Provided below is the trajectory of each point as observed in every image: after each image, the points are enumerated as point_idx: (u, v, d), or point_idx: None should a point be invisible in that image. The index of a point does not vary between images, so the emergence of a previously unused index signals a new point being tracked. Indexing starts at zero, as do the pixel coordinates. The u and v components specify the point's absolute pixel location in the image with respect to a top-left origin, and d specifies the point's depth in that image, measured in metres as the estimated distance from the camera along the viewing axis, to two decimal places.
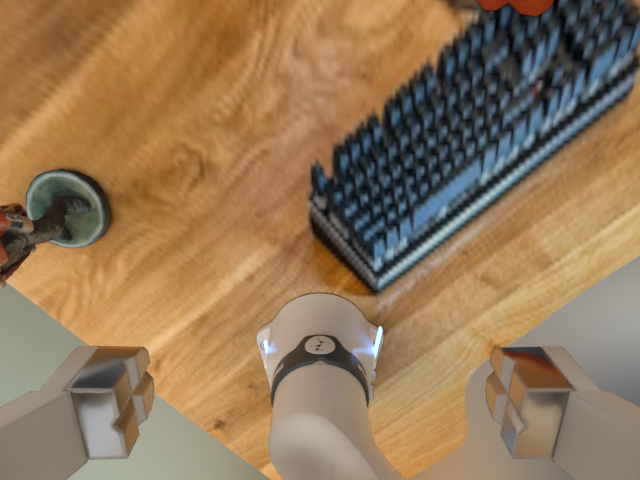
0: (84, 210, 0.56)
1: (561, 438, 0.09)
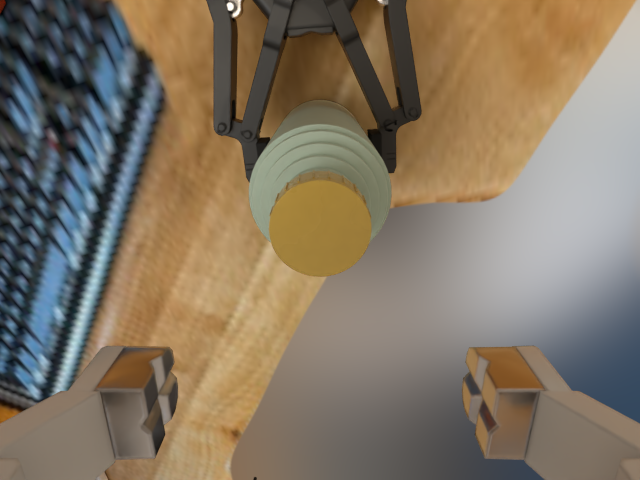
0: None
1: (532, 438, 0.09)
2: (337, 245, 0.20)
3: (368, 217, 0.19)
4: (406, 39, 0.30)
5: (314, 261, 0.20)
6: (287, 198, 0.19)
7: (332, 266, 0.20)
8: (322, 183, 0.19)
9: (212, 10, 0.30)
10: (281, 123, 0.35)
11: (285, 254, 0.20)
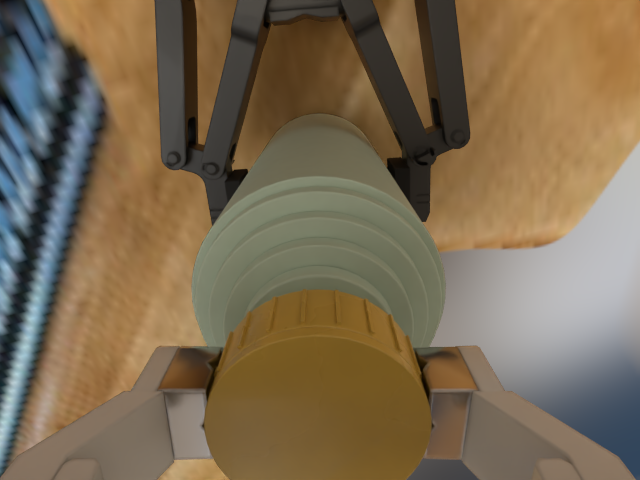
0: None
1: (468, 438, 0.09)
2: (355, 459, 0.09)
3: (426, 408, 0.09)
4: (451, 27, 0.20)
5: None
6: (242, 371, 0.08)
7: None
8: (323, 341, 0.08)
9: None
10: None
11: (243, 475, 0.09)
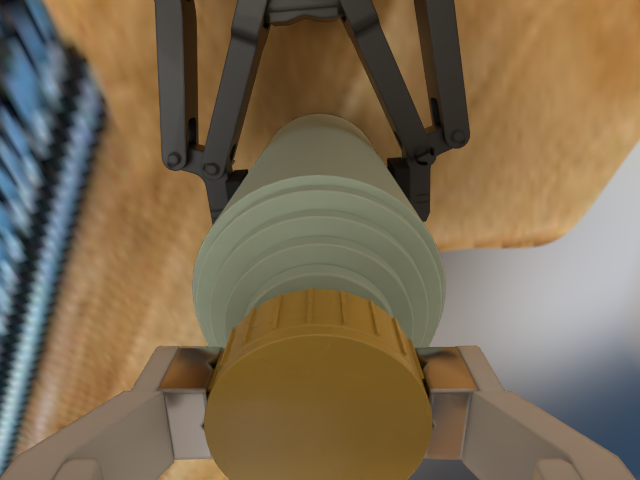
0: None
1: (468, 438, 0.09)
2: (359, 404, 0.08)
3: (299, 340, 0.08)
4: (450, 27, 0.20)
5: (389, 450, 0.09)
6: (239, 477, 0.09)
7: (410, 419, 0.09)
8: (211, 416, 0.09)
9: None
10: (264, 149, 0.25)
11: None
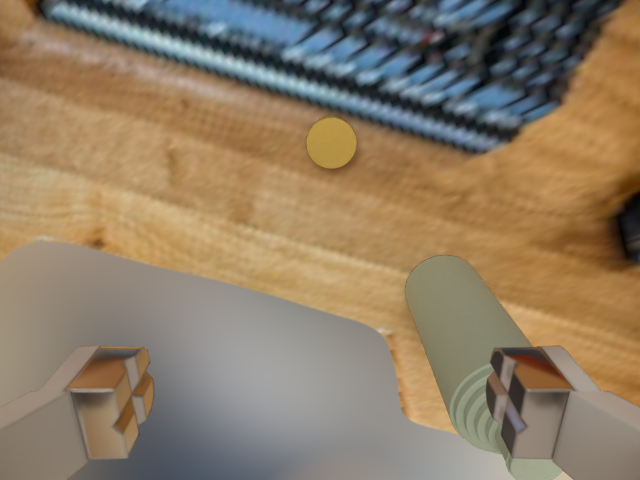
0: None
1: (561, 438, 0.09)
2: (334, 154, 0.40)
3: (354, 149, 0.40)
4: None
5: (320, 156, 0.40)
6: (326, 121, 0.39)
7: (327, 163, 0.40)
8: (344, 123, 0.39)
9: None
10: (477, 278, 0.42)
11: (310, 146, 0.40)
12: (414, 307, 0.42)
